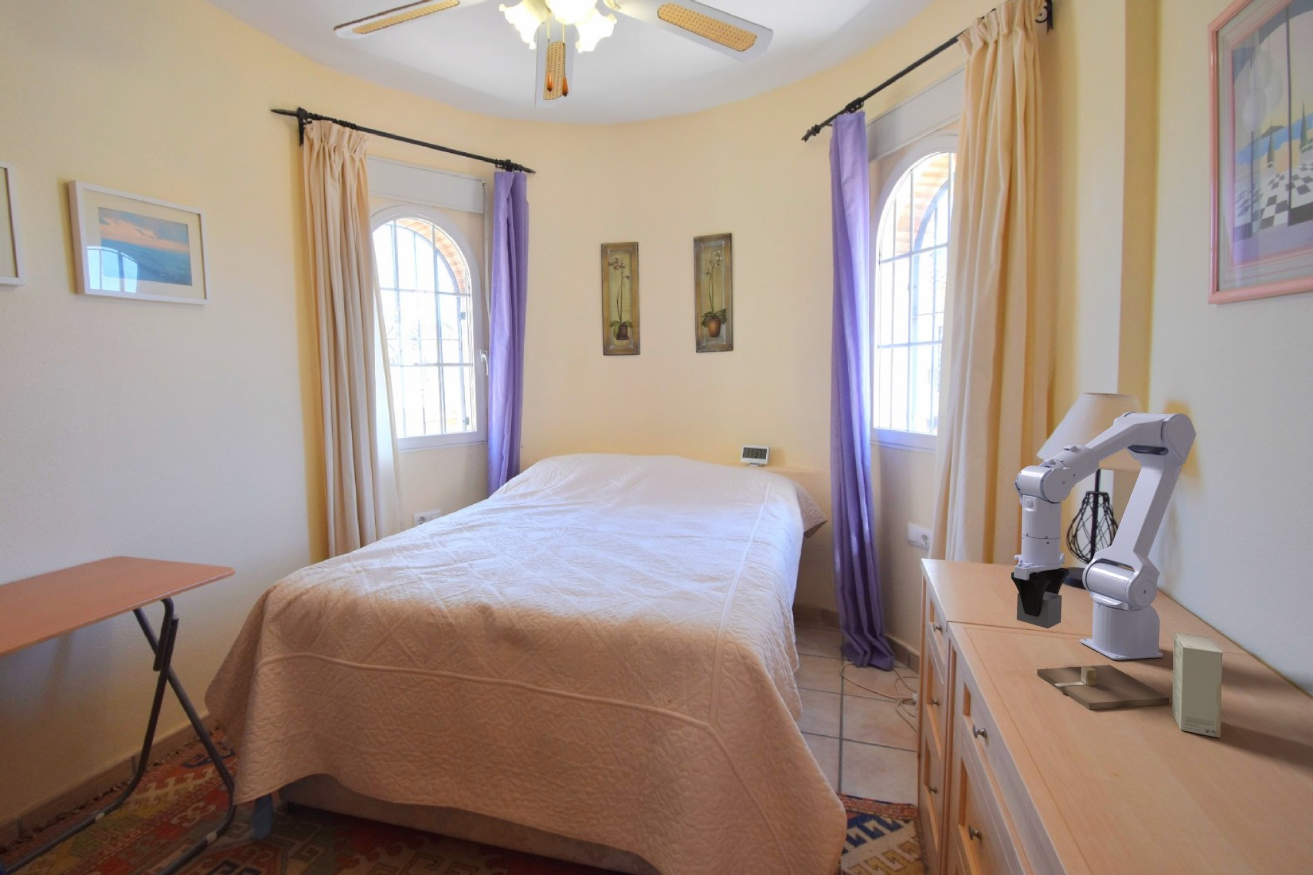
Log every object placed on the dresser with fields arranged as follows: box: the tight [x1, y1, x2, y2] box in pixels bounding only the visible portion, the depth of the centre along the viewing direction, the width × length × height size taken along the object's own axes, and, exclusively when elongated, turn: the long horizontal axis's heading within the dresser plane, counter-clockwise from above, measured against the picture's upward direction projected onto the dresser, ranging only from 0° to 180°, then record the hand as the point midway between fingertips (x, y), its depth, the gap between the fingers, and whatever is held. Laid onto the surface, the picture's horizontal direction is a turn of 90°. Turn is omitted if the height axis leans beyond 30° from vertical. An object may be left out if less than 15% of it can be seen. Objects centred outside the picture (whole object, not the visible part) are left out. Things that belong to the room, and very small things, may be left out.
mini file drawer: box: [1016, 592, 1063, 630], centre depth 105 cm, size 5×5×5 cm
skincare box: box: [1172, 632, 1224, 739], centre depth 85 cm, size 6×4×12 cm
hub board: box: [1036, 664, 1171, 710], centre depth 96 cm, size 14×11×4 cm
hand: (1039, 611), depth 105 cm, fingers closed on mini file drawer, 5 cm apart
